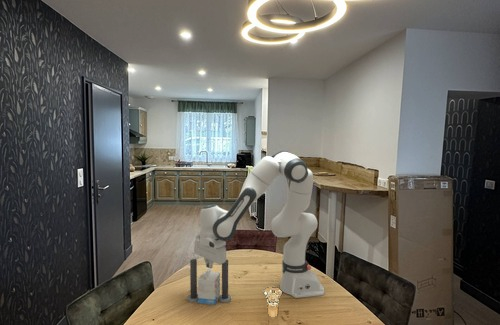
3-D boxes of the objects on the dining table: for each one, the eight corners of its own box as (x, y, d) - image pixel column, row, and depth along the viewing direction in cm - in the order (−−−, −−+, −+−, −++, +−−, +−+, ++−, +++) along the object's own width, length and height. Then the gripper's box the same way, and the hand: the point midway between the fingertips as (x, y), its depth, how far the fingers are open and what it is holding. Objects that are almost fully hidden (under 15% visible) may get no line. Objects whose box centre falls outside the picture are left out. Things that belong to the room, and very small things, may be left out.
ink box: (214, 305, 125) (214, 277, 125) (197, 303, 127) (197, 275, 126) (220, 295, 134) (220, 269, 133) (204, 293, 136) (204, 267, 135)
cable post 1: (201, 295, 134) (201, 257, 132) (198, 302, 128) (198, 263, 126) (188, 295, 134) (188, 257, 132) (185, 302, 128) (185, 263, 126)
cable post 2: (231, 296, 133) (231, 258, 132) (230, 303, 127) (230, 263, 126) (219, 295, 133) (219, 258, 132) (217, 302, 127) (217, 263, 126)
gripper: (190, 235, 134) (191, 263, 134) (217, 246, 120) (217, 276, 120) (201, 232, 138) (201, 259, 139) (228, 242, 124) (228, 272, 125)
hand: (209, 267), depth 130 cm, fingers closed
